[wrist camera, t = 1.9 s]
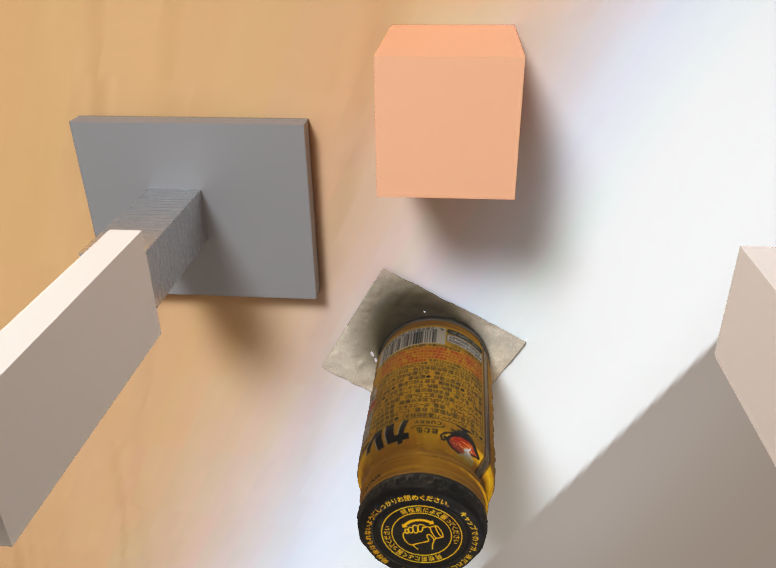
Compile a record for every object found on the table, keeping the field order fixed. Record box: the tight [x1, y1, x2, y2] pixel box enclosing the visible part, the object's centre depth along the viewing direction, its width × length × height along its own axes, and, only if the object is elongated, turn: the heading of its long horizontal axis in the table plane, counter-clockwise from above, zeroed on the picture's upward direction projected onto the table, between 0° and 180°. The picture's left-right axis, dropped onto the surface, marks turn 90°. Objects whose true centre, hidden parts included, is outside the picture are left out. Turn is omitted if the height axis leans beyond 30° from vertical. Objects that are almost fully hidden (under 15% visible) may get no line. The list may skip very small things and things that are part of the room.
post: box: [79, 188, 208, 308], centre depth 32 cm, size 3×3×7 cm
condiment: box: [322, 269, 526, 568], centre depth 34 cm, size 7×8×12 cm
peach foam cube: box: [374, 25, 525, 200], centre depth 29 cm, size 5×5×7 cm
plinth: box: [69, 116, 320, 299], centre depth 35 cm, size 9×11×1 cm
